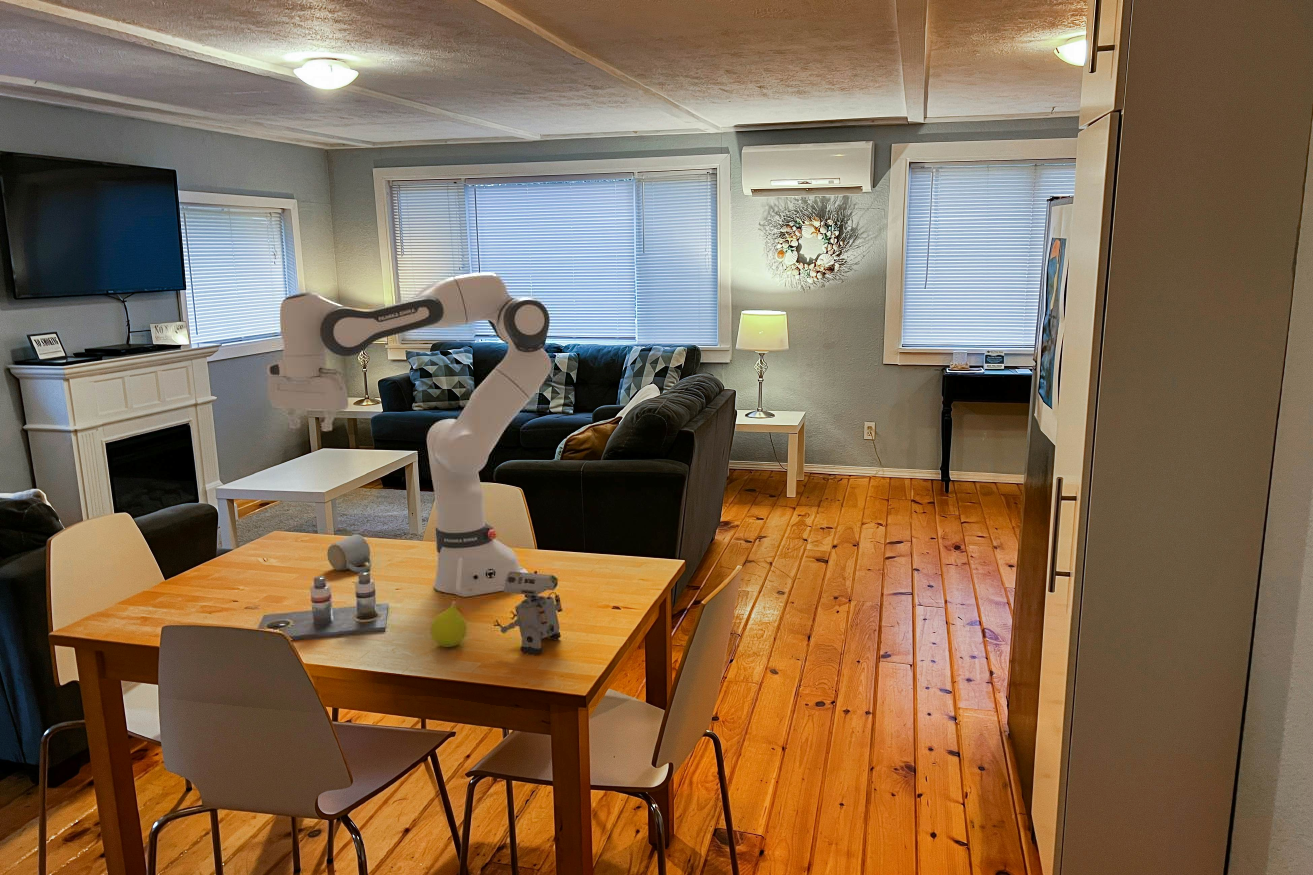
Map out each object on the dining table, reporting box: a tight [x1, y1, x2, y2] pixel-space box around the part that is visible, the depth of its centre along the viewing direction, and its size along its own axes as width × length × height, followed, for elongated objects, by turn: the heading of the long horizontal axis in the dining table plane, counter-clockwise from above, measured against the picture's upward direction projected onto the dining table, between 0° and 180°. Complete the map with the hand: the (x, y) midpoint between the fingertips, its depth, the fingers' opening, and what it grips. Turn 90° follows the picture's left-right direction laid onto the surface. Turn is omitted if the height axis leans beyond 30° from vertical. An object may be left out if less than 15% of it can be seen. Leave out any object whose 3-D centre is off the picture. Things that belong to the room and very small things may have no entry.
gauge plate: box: [256, 602, 389, 642], centre depth 198 cm, size 26×14×1 cm, turn 103°
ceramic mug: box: [326, 534, 372, 573], centre depth 234 cm, size 11×8×8 cm
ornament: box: [430, 594, 468, 648], centre depth 185 cm, size 7×7×10 cm
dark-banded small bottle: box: [354, 571, 377, 619], centre depth 199 cm, size 4×4×10 cm
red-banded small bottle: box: [309, 575, 333, 624], centre depth 197 cm, size 4×4×10 cm
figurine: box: [493, 570, 563, 656], centre depth 185 cm, size 9×12×15 cm
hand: (311, 429), depth 207 cm, fingers open, 8 cm apart
